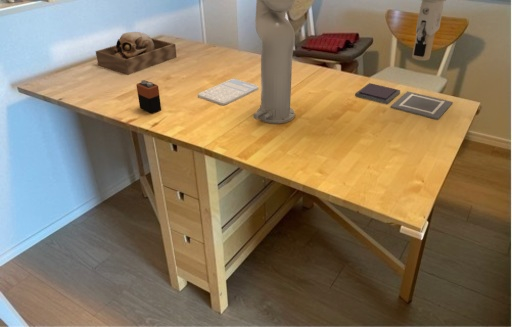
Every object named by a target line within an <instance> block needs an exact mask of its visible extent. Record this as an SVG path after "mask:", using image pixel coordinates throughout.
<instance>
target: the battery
mask: <svg viewBox="0 0 512 327" xmlns="http://www.w3.org/2000/svg"><path fill="white" fill-rule="evenodd" d="M135 85H136V92H137V98H138V103H139V109H140V110H141V111H143V112H144V111H145V112H146V113H149V114H155V113H157V112H160V111H162V104H161V103H162V102H161V96H160V90H159V89H160V88H159V85H158V84H156V83H154V82H153V81H152V82H151V81H149V80H145V79H143V80H140V82H138V83H136V84H135Z"/></svg>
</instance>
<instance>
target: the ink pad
mask: <svg viewBox="0 0 512 327" xmlns="http://www.w3.org/2000/svg"><path fill="white" fill-rule="evenodd" d="M400 94H401V89H398V88H397V89H396V88H394V87H393V88H392V87H389V86H384V85H379V84H375V83H371V82H369V83H367V84H366V85H364V86H363V87H362V88H360V89H359V90H357V91H356V92H355V94H354V96H355V98H361V99H363V100H368V101H373V102H377V103H380V104H385V105H388V104H390V103H391V101H393V100H394V99H395V98H396V97H397V96H398V95H400Z"/></svg>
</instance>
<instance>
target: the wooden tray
mask: <svg viewBox="0 0 512 327" xmlns="http://www.w3.org/2000/svg"><path fill="white" fill-rule="evenodd" d="M150 38H151V39H152V41H153V43H154V50H153V51H150V52H147V53H144V54H141V55H138V56H135V57H132V58H129V59H124V58H121V57H117V56H115V54H116V53H114V50H115V49H116V44H115V45H113V46H109V47H105V48H102V49H99V50H95V55H96V60H97V64H98V66H100V67H104V68H107V69H109V70H113V71H116V72H119V73H121V74H126V75H132V74H134V73H138V72H140V71H142V70H145V69H148V68H151V67H154V66H156V65H159V64H162V63H164V62H167V61H171V60H173V59H175V58H177V48H176V44H175V43H172V42H168V41H165V40H160V39H157V38H152V37H150Z"/></svg>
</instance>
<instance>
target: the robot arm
mask: <svg viewBox="0 0 512 327" xmlns="http://www.w3.org/2000/svg"><path fill="white" fill-rule="evenodd" d="M295 2H296V0H256V5H255V20H254V22H255V24H254V25H255V31H256V33H257V35H258V37H259V38H260V40H261V44H262V45H261V58H260V91H261V92H260V105H259V108H258V109H257V110H256V112H255V113H253V114H252V115H253V116H252V117H253V119H254V120H260V121H261V122H264V123H266V124H274V125H275V124H277V125H278V124H279V125H280V124H286V123H288V122H291V121H292V120H294V118H295V117H296V112H295V110H294V109H293V108H291V97H292V96H291V95H292V94H291V93H292V73H293V72H292V68H293V54H294V46H295V42H296V34H295V30H294V27H293V26H292V24H291V22H290V21H289V20H288V19H287V18H286V14H287V12H289V11H290V10H291V9H292V8H293V6H294V4H295ZM445 2H446V0H421V4H420V8H419V12H418V15H417V22H416V29H415V33H417V40H416V45H415V50H414V55H415V56H420V57H423V56H424V54H425V49H426V44H425V43H426V40H427V37H428V34H429V36H431V35H432V34H434V33H435V34H436V32H438V31H439V30H440V28H441V23H442V22H441V21H442V15H443V9H444V3H445ZM423 32H426V34H423ZM422 36H425V38H424V37H422Z"/></svg>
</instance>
